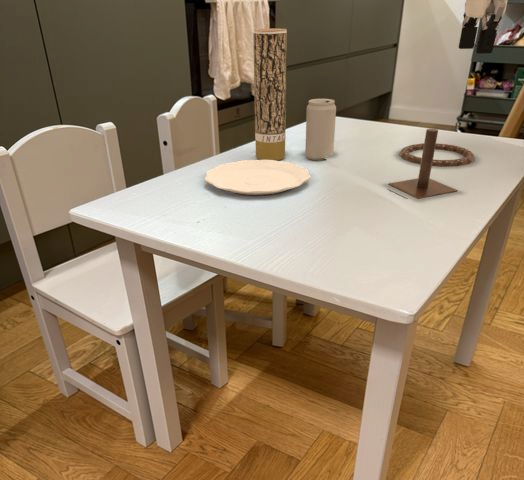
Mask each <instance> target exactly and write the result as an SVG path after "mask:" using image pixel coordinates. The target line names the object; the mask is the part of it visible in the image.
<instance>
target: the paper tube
mask: <svg viewBox="0 0 524 480" xmlns="http://www.w3.org/2000/svg"><path fill="white" fill-rule="evenodd" d="M287 30H288V29H287V28H256V29H253V33H252V37H253V41H252V45H253V84H254V85H253V87H254V88H253V90H254V136H255V137H254V138H255V157H256V158H257V160H275V161H281V160H283V159H284V158H285V156H286V132H287V131H286V130H287V129H286V124H287V123H286V121H287V60H288V59H287V51H288V50H287V49H288V40H287V39H288V32H287Z"/></svg>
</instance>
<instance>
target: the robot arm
mask: <svg viewBox="0 0 524 480" xmlns="http://www.w3.org/2000/svg"><path fill="white" fill-rule="evenodd" d="M508 1H509V0H465V3H464V13H463V14H462V16H463V20H462V23H461V26H462V27H461V32H460V37H459V38H460V39H459V42H458V49H459V50H472V49H474V47H475V44H476V39H477V44H476V49H475V53H476V54H479V55H480V54H482V55H483V54H484V55H485V54H493V50H494V46H495V42H496V37H497V33H498V30H499V27H500V22H501V20H502V18H503V16H504V15H505V14H506V10H507V5H508ZM480 19H481V26H482V27H481V28H482V29H480V30H479V34H478V29H479V27H478V26H477V25H478V23H479V22H480ZM477 34H478V38H477Z"/></svg>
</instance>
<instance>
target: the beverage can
mask: <svg viewBox="0 0 524 480" xmlns="http://www.w3.org/2000/svg"><path fill="white" fill-rule="evenodd" d="M335 102H336V100H335V99H332V98H313V99H309V100H308V104H307V106H306V119H305V120H306V121H305V151H304V153H305V154H304V155H305V156H306V157H307V158H308V159H309V160H311V161H318V162H319V161H327V160H328V159H327V157H328V158H329V157H332V156H334V149H335V147H334V146H335V131H336V116H337V106H336V104H335Z"/></svg>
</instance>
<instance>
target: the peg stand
mask: <svg viewBox="0 0 524 480" xmlns="http://www.w3.org/2000/svg"><path fill="white" fill-rule="evenodd" d="M425 130H426V131H425V136H424V142H423V143H424V147H423V150H422V154H421V158H422V159H421V164H419V172H418V178H412V179H407V180H401V181H395V182H389V183H388V186H390V187H392V188H395V189H396V190H398V191H400V192H402V193H405V194H407V195H409V196H411V197H413V198H415V199H417V200H421V199H422V200H423V199H426V198H431V197H436V196H442V195H447V194H452V193H457V192H458V191H459V190H458V189H456V188H453V187H451V186H448V185H446V184H443V183H442V182H439V181H436V180H434V179H431V173H432V172H431V171H432V167H433V166H432V162H433V159H434V156H435V150H436V149H435V146H436V143H437V139H438V134H439V129H437V128H427V129H425ZM387 190H388V191H390V192H392V193H394V194H396V195H398V196H399V197H402V198H403V199H406V200H408V199H409V198H408V197H405V196H403V195H402V194H399V193H397V192H395V191H393V190H391V189H389V188H388V189H387Z"/></svg>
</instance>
